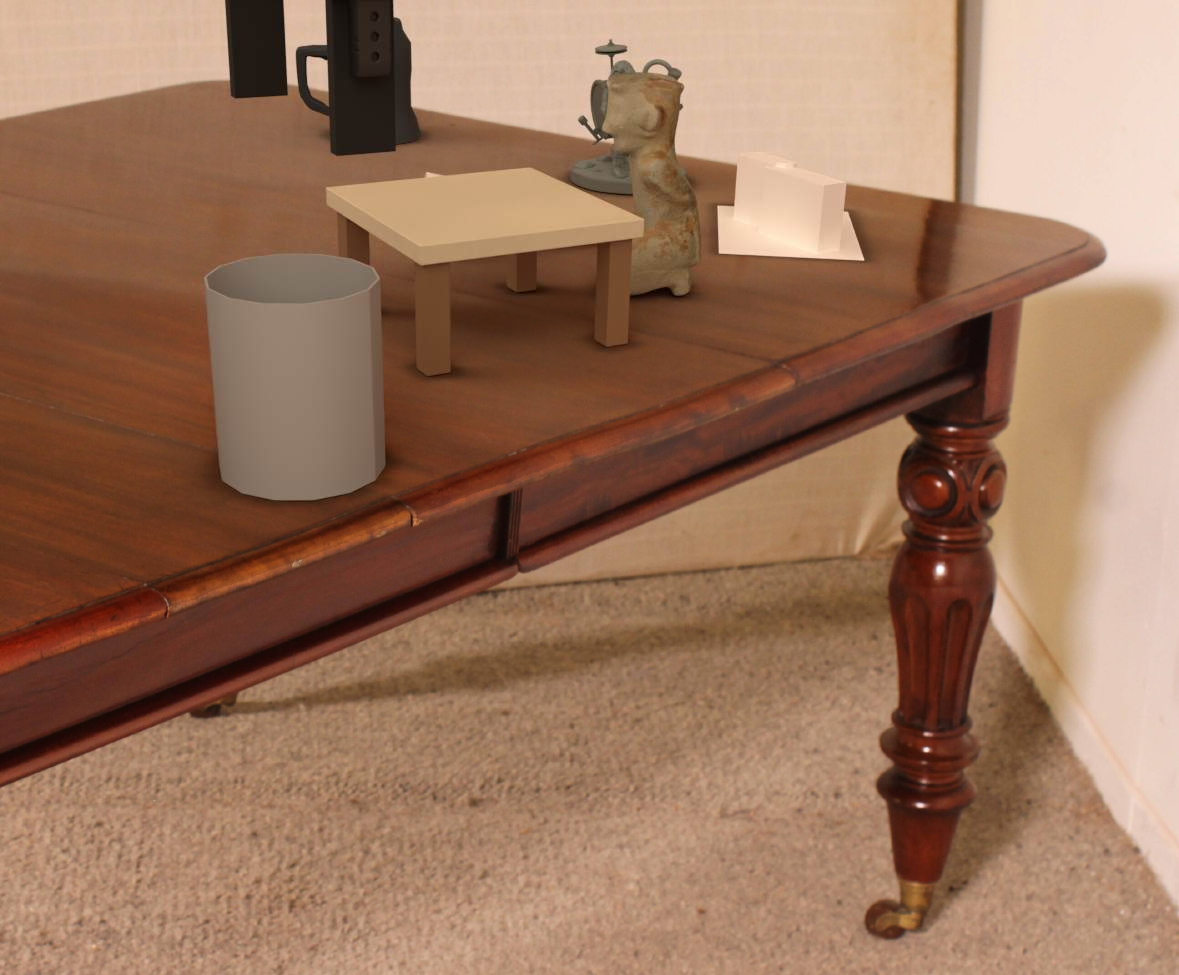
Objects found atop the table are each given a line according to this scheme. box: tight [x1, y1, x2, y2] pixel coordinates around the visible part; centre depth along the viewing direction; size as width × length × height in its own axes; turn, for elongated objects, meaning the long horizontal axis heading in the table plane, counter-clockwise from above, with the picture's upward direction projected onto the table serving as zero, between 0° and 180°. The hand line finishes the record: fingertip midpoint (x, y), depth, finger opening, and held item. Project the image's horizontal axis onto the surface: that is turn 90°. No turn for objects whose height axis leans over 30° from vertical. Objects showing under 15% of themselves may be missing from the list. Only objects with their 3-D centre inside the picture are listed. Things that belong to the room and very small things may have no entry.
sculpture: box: [595, 71, 702, 297], centre depth 102 cm, size 6×7×15 cm
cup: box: [203, 253, 387, 501], centre depth 74 cm, size 8×8×10 cm
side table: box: [325, 167, 644, 377], centre depth 96 cm, size 15×15×8 cm
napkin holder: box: [717, 150, 865, 262], centre depth 120 cm, size 15×11×6 cm
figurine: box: [569, 38, 688, 195], centre depth 133 cm, size 11×11×12 cm
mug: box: [295, 16, 422, 145], centre depth 147 cm, size 12×9×11 cm
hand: (307, 122), depth 70 cm, fingers open, 13 cm apart
